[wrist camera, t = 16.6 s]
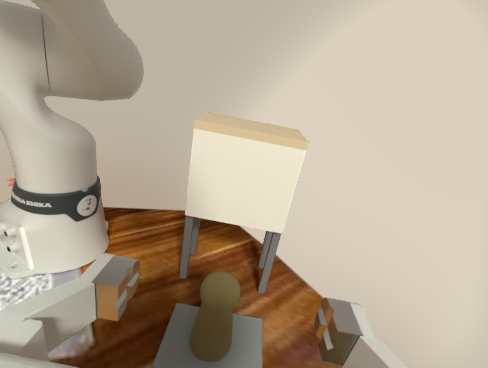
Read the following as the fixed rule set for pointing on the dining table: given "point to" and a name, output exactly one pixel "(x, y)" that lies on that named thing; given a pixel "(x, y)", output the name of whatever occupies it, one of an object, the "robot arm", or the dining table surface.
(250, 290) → the dining table surface
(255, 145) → the cabinet
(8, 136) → the robot arm
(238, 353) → the mat
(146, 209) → the dining table surface
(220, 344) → the olive pear shape
